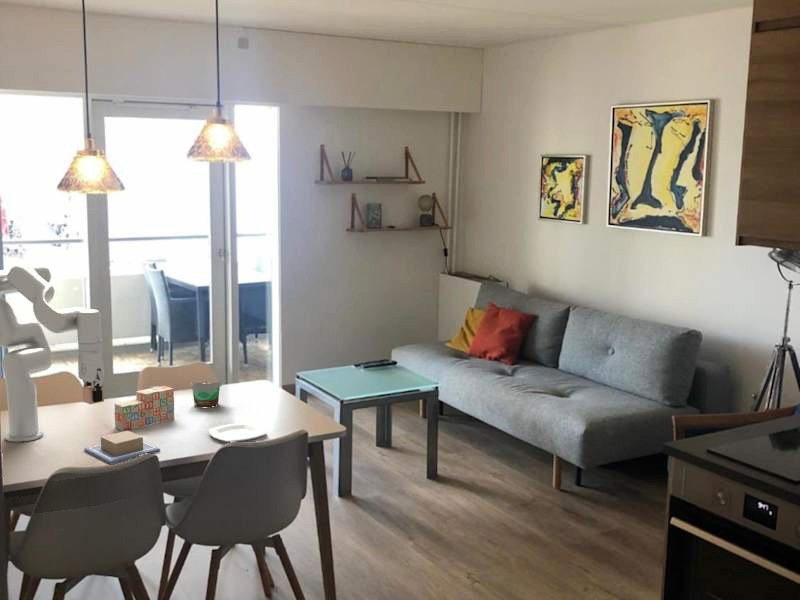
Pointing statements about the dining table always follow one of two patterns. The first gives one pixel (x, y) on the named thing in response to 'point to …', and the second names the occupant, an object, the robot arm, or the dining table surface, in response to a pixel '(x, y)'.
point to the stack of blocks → (145, 408)
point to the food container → (206, 393)
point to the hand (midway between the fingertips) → (93, 399)
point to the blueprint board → (120, 447)
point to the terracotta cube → (90, 395)
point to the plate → (237, 432)
